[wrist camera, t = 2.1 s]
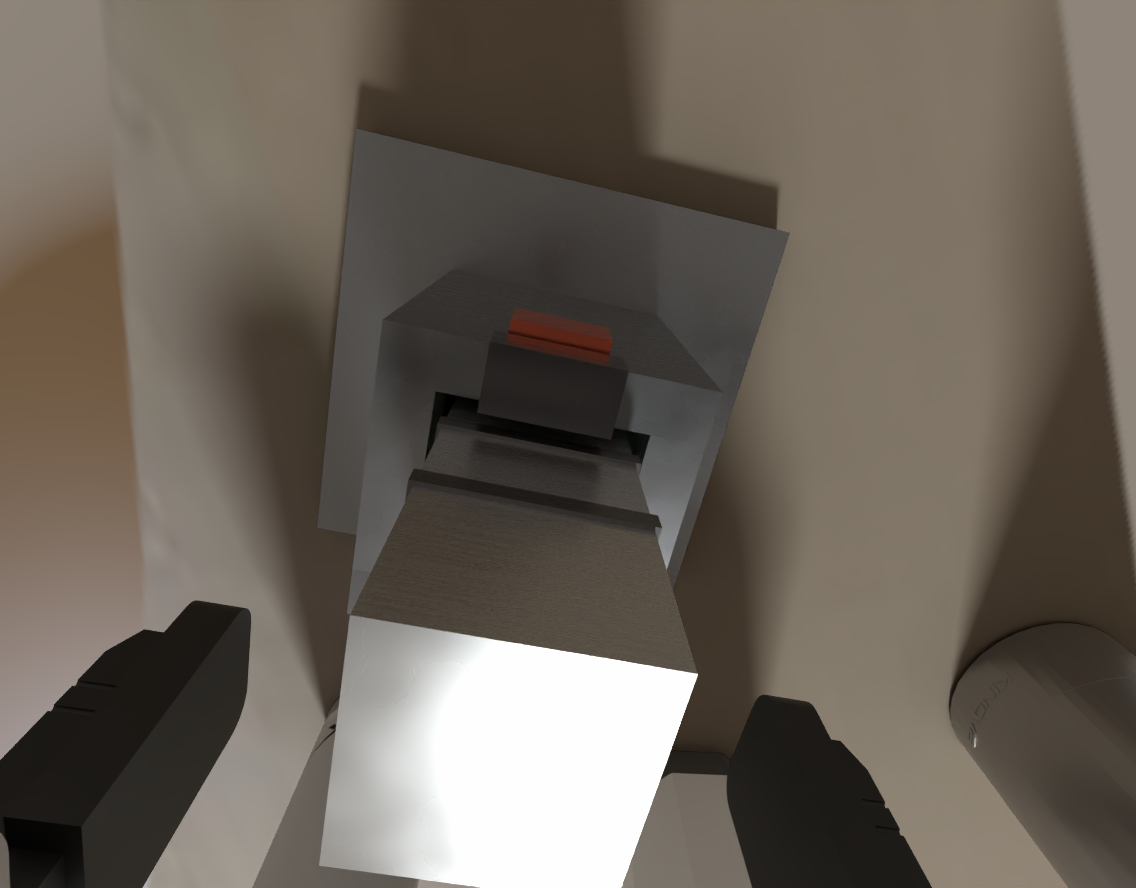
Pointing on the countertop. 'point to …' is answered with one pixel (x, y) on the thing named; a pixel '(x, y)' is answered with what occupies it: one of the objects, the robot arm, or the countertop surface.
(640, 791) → the block
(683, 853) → the wine bottle
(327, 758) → the travel mug
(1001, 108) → the countertop surface
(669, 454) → the stepped pedestal base
